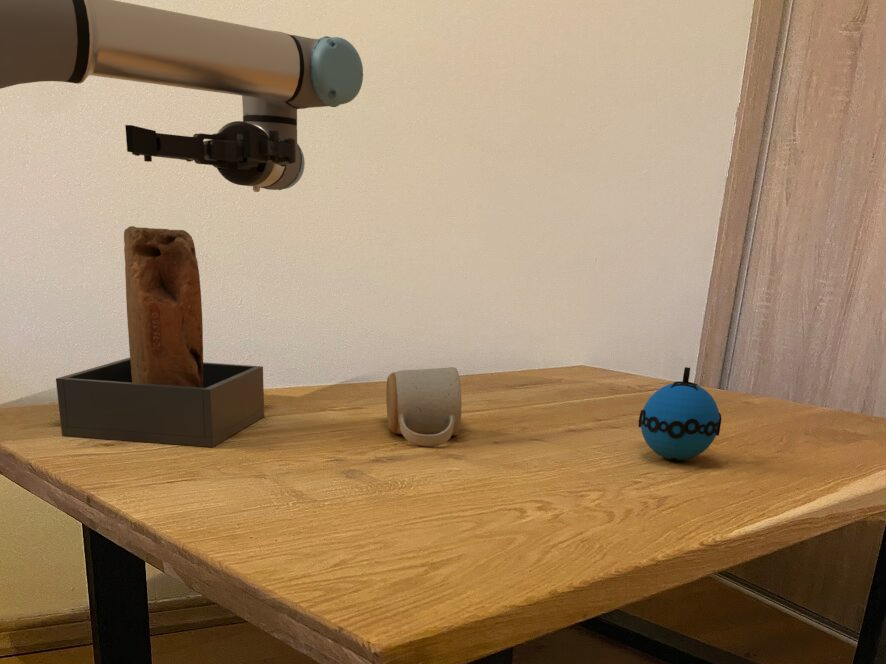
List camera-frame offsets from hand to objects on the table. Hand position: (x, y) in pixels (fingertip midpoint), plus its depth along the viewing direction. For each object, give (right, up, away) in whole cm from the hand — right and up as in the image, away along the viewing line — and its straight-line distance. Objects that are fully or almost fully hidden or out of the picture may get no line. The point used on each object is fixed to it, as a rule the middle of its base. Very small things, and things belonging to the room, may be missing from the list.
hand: (187, 141), depth 103 cm
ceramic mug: (+27, -33, +3) cm, 42 cm away
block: (-2, -31, +2) cm, 31 cm away
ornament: (+54, -36, -1) cm, 65 cm away
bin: (-3, -31, +2) cm, 32 cm away
